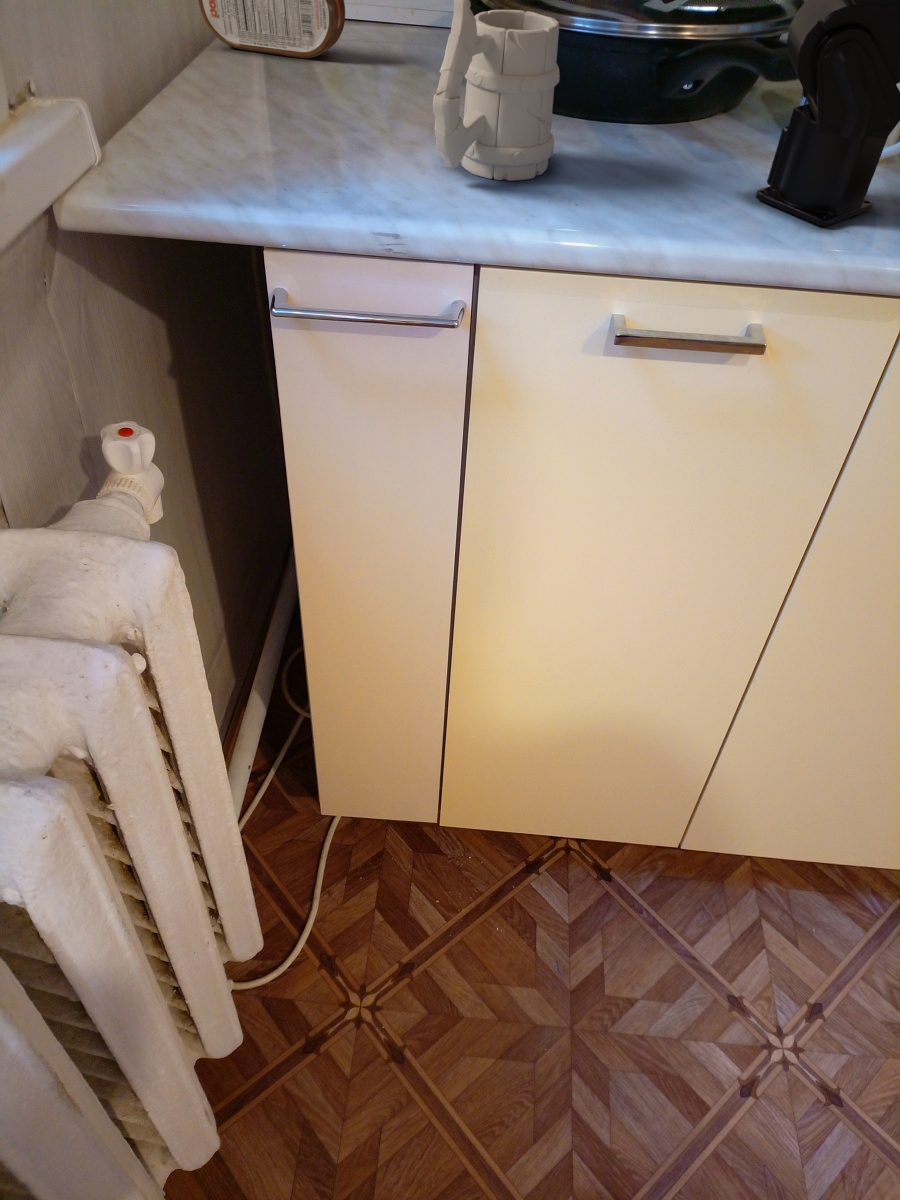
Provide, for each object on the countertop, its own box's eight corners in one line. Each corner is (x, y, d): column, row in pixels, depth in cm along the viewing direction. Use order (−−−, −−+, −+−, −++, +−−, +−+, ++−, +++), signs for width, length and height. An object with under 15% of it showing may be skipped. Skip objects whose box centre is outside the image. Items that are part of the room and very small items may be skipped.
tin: (348, 57, 88) (344, -44, 82) (337, 65, 86) (332, -38, 80) (213, 39, 91) (200, -61, 84) (199, 46, 88) (185, -55, 82)
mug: (570, 166, 70) (595, -13, 61) (472, 204, 63) (484, 11, 55) (499, 140, 73) (513, -32, 64) (399, 174, 67) (400, -12, 58)
